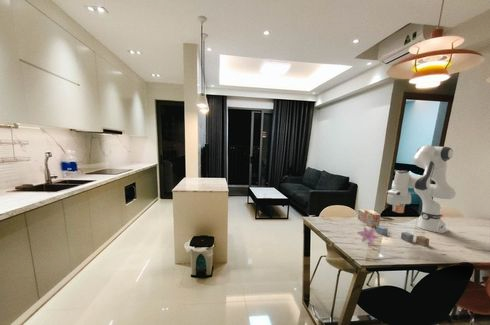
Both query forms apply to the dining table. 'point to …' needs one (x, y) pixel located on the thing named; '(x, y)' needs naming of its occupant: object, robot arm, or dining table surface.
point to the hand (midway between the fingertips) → (398, 209)
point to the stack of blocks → (369, 217)
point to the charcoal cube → (407, 236)
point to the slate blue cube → (381, 230)
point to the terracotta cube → (399, 209)
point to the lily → (368, 235)
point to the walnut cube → (422, 240)
